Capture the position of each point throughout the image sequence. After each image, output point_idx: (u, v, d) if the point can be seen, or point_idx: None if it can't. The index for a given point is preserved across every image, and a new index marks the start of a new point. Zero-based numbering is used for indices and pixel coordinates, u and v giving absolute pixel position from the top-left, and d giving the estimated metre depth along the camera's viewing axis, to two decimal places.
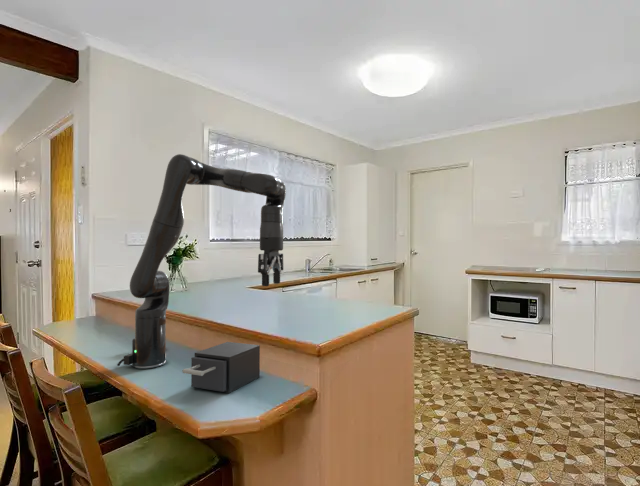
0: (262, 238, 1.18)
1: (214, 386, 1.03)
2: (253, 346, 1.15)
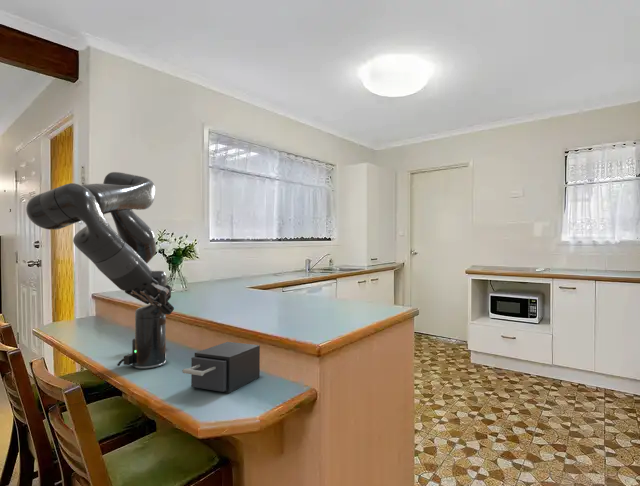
0: None
1: (214, 386, 1.03)
2: (253, 346, 1.15)
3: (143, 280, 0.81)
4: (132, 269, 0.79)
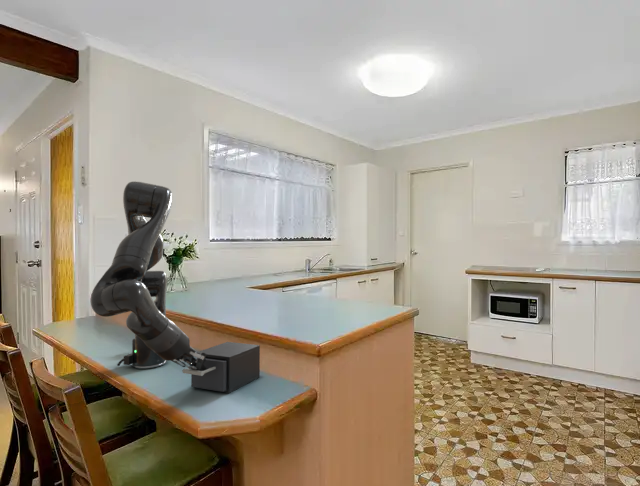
0: None
1: (214, 386, 1.03)
2: (253, 346, 1.15)
3: (183, 350, 0.92)
4: (175, 343, 0.89)
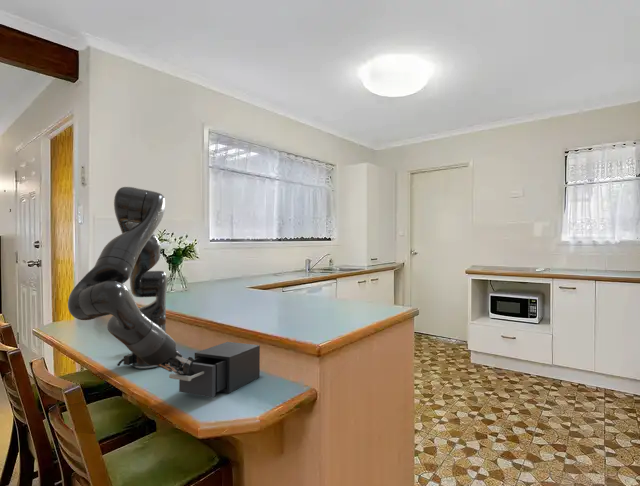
0: None
1: (202, 392, 0.99)
2: (253, 346, 1.15)
3: (169, 355, 0.88)
4: (159, 347, 0.85)
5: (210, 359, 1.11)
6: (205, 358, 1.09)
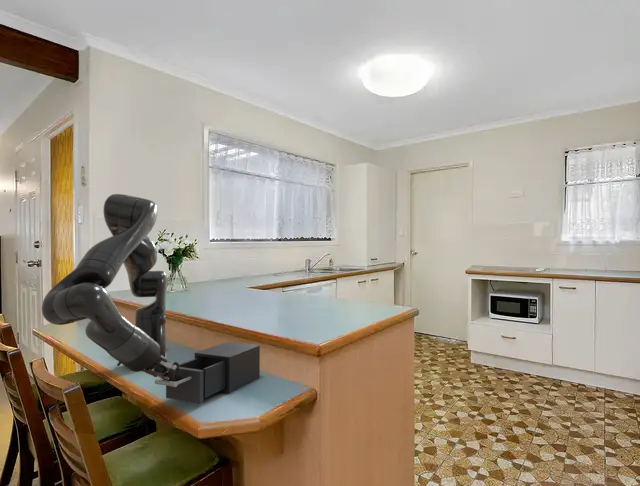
0: None
1: (190, 398, 0.95)
2: (253, 346, 1.15)
3: (152, 360, 0.83)
4: (142, 352, 0.81)
5: (199, 363, 1.07)
6: (194, 362, 1.05)
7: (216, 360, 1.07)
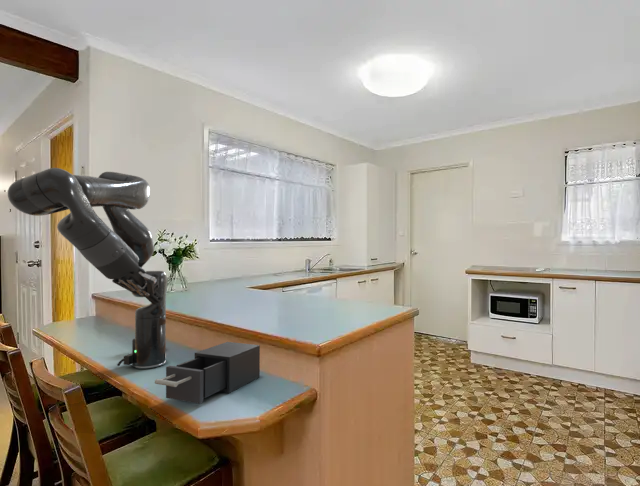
0: None
1: (190, 398, 0.95)
2: (253, 346, 1.15)
3: (130, 268, 0.80)
4: (118, 257, 0.78)
5: (199, 363, 1.07)
6: (194, 362, 1.05)
7: (216, 360, 1.07)
